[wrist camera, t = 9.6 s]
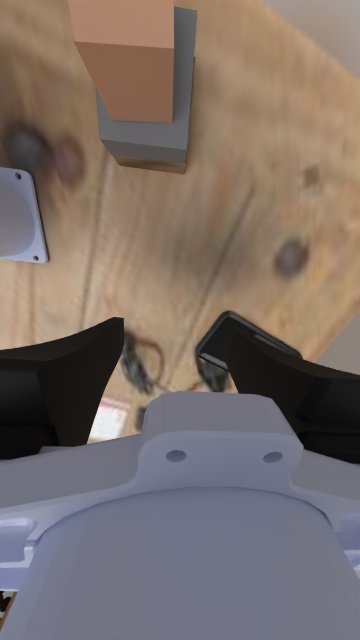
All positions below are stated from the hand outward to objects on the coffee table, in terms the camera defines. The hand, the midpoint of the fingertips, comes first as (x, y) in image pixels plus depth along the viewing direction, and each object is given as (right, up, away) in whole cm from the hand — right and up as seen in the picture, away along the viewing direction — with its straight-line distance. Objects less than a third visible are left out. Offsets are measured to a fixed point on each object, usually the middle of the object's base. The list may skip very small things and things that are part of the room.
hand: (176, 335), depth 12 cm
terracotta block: (-2, +16, -1) cm, 16 cm away
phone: (+10, -4, +14) cm, 18 cm away
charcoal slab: (-2, +17, +1) cm, 17 cm away
